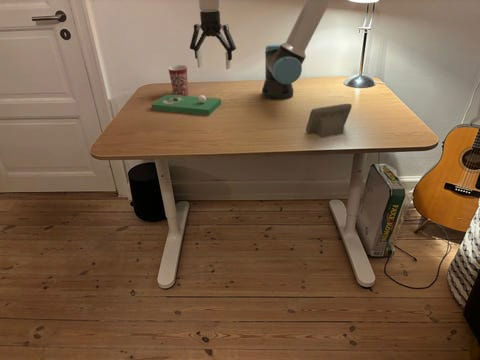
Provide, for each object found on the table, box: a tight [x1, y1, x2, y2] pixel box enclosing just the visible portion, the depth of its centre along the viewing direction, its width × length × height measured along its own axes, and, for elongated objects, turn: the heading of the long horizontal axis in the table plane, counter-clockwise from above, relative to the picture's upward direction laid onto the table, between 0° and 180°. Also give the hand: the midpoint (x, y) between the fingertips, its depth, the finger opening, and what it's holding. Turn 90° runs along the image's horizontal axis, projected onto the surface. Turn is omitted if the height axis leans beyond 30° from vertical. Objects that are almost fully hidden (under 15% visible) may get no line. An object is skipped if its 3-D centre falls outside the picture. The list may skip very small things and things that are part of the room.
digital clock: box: [305, 103, 352, 138], centre depth 128 cm, size 16×9×11 cm, turn 95°
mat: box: [151, 93, 222, 116], centre depth 158 cm, size 28×14×2 cm, turn 71°
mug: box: [167, 64, 189, 96], centre depth 171 cm, size 13×9×14 cm
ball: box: [198, 94, 207, 103], centre depth 154 cm, size 4×4×4 cm
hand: (214, 67), depth 145 cm, fingers open, 12 cm apart
